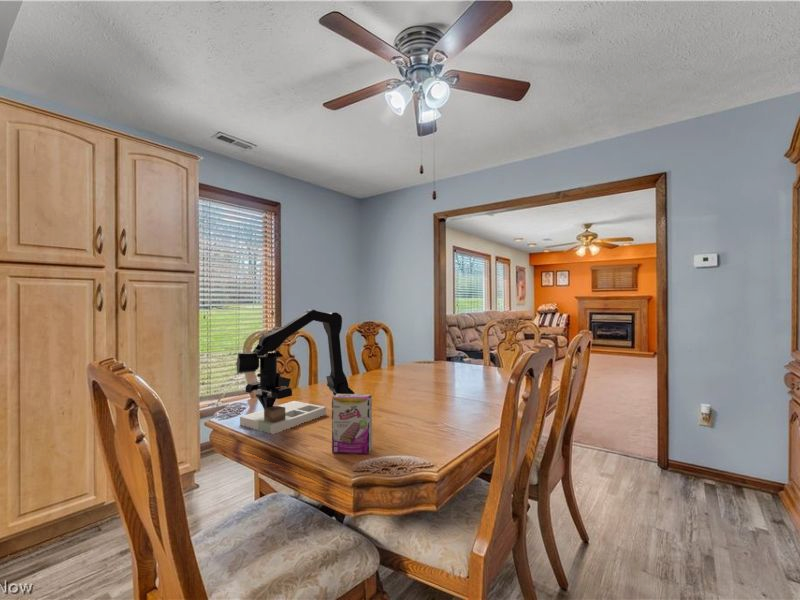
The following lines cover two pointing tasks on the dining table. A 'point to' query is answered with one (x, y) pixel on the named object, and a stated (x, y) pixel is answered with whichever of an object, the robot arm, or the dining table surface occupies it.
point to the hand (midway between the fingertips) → (268, 414)
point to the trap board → (293, 417)
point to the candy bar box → (352, 423)
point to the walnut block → (274, 414)
